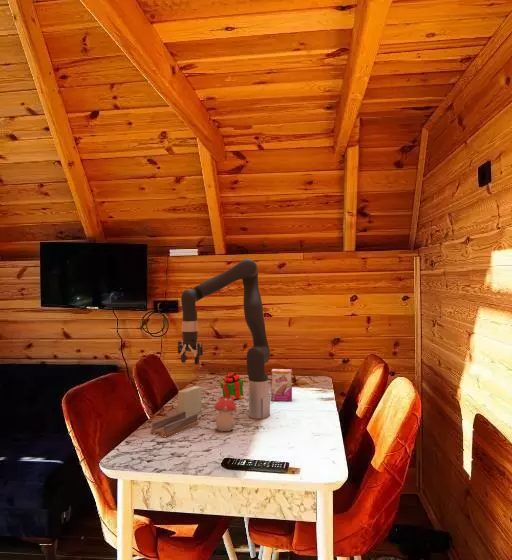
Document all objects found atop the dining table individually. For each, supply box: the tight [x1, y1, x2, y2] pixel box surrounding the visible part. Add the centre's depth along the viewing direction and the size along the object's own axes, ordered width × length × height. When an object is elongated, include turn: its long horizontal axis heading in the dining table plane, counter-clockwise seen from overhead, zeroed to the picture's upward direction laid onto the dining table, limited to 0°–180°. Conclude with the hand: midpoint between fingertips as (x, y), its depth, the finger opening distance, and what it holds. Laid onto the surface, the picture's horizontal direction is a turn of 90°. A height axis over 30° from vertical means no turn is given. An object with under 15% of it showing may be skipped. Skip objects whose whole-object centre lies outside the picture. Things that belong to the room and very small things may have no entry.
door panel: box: [177, 385, 202, 417], centre depth 202 cm, size 4×12×12 cm, turn 146°
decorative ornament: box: [214, 395, 237, 432], centre depth 179 cm, size 9×7×15 cm
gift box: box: [219, 372, 249, 401], centre depth 227 cm, size 20×19×14 cm
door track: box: [150, 411, 200, 438], centre depth 181 cm, size 10×19×4 cm, turn 146°
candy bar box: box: [270, 368, 293, 402], centre depth 224 cm, size 11×5×16 cm, turn 84°
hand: (190, 363), depth 202 cm, fingers open, 8 cm apart
